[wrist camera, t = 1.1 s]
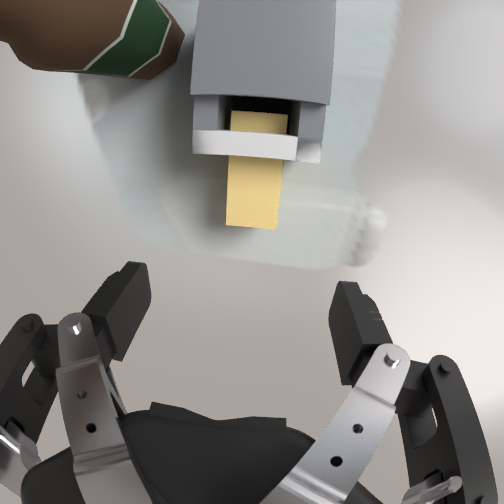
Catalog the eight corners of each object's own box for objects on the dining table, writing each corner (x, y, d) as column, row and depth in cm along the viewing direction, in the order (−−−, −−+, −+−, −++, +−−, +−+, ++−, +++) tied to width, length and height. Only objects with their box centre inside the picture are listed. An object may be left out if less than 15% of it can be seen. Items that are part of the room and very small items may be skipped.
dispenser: (220, 21, 18) (201, -13, 11) (315, 28, 18) (336, -4, 10) (211, 142, 23) (187, 155, 16) (305, 150, 23) (322, 166, 16)
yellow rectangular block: (237, 111, 22) (231, 110, 18) (284, 115, 22) (287, 115, 18) (232, 207, 26) (225, 225, 22) (274, 210, 26) (275, 229, 22)
